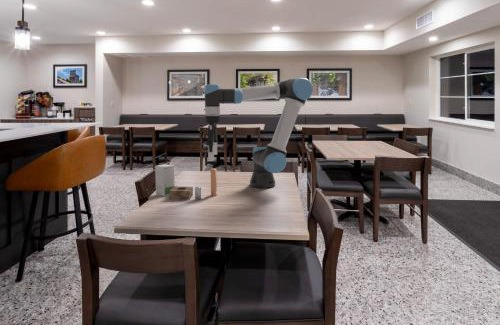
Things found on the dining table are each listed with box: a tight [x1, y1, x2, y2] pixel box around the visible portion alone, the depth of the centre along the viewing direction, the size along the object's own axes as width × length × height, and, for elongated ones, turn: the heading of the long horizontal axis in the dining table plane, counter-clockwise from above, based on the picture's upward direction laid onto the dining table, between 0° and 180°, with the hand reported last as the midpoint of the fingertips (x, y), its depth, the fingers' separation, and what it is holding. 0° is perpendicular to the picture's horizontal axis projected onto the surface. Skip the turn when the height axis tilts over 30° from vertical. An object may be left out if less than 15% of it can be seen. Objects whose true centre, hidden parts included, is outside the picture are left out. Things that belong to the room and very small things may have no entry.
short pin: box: [194, 186, 202, 201], centre depth 186 cm, size 3×3×6 cm
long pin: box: [210, 168, 218, 197], centre depth 193 cm, size 3×3×14 cm
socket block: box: [169, 185, 194, 201], centre depth 189 cm, size 10×10×4 cm
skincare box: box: [154, 163, 176, 197], centre depth 194 cm, size 8×7×16 cm
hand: (212, 156), depth 191 cm, fingers open, 13 cm apart
